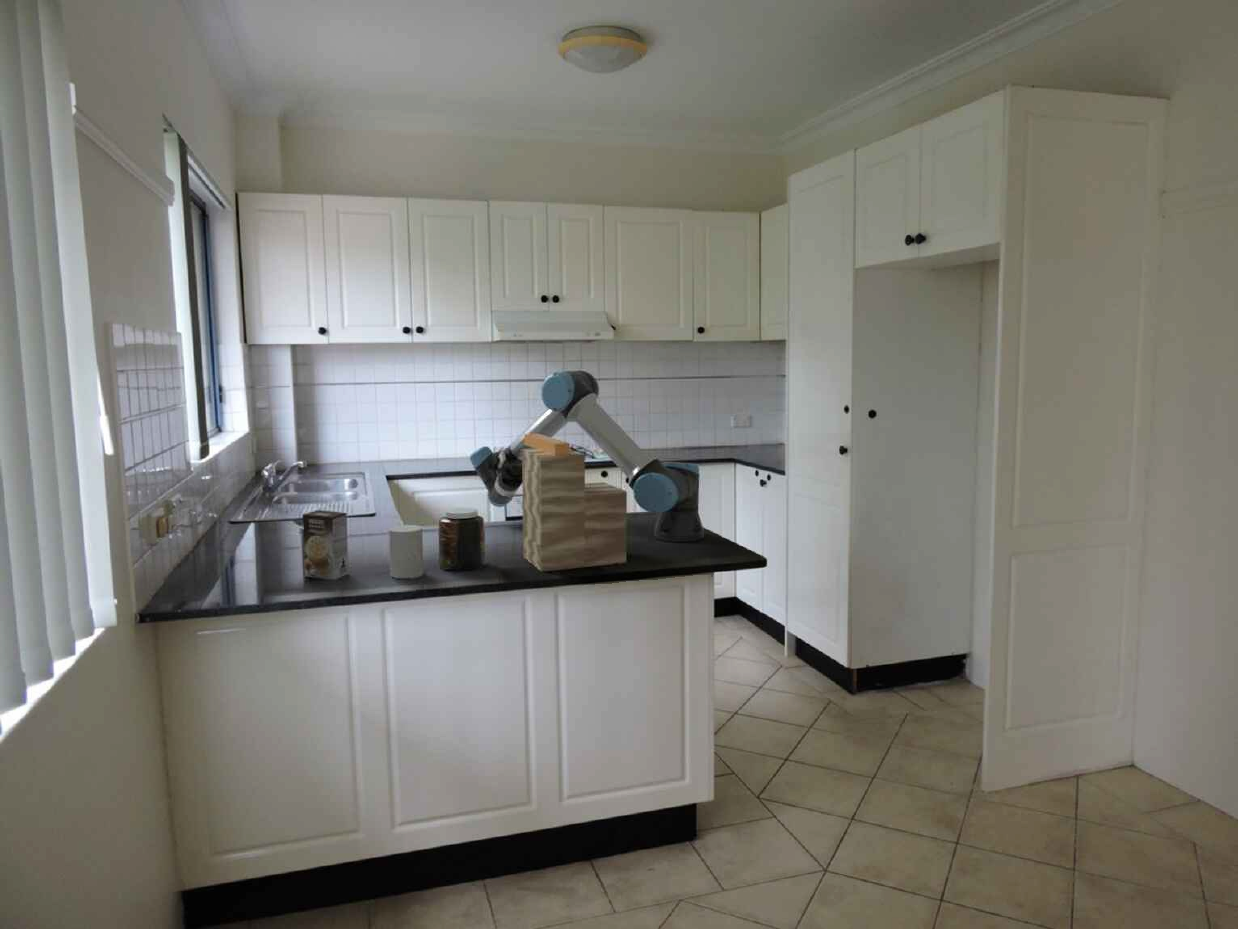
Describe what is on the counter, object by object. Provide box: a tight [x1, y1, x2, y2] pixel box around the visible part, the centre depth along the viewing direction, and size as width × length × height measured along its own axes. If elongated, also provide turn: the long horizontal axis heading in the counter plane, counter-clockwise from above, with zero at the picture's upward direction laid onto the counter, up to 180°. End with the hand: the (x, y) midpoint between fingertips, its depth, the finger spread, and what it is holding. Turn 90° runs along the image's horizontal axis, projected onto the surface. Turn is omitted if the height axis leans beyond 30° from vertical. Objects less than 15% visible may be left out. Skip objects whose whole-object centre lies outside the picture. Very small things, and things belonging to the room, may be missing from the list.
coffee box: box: [302, 509, 349, 581], centre depth 213 cm, size 9×6×16 cm
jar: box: [437, 507, 486, 572], centre depth 223 cm, size 12×12×15 cm
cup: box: [388, 524, 424, 579], centre depth 214 cm, size 8×8×12 cm
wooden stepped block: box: [521, 449, 628, 572], centre depth 229 cm, size 17×24×30 cm
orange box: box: [525, 434, 571, 456], centre depth 229 cm, size 26×4×3 cm, turn 24°
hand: (526, 453), depth 245 cm, fingers open, 13 cm apart
